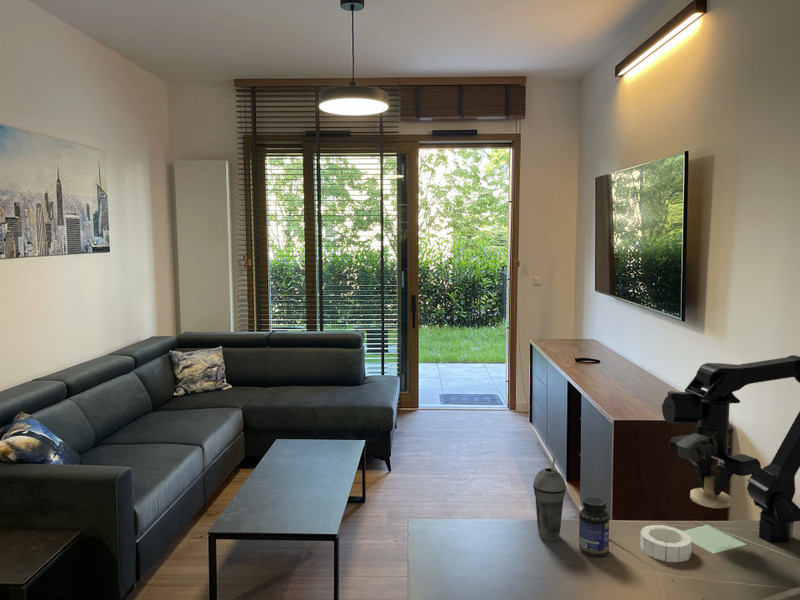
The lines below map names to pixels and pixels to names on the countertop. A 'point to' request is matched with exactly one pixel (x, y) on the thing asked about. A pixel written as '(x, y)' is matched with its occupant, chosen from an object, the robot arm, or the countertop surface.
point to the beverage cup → (549, 501)
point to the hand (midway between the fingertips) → (710, 492)
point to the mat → (712, 539)
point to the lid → (710, 495)
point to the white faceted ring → (665, 543)
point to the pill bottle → (594, 527)
